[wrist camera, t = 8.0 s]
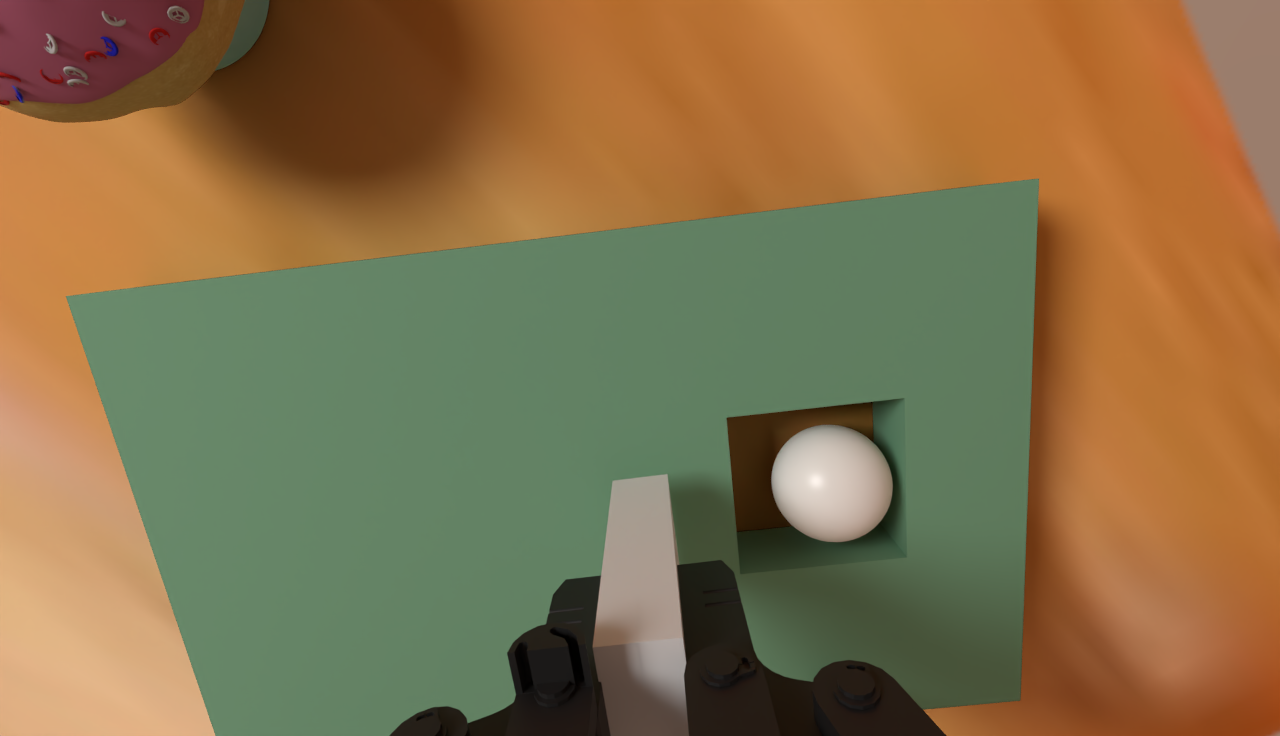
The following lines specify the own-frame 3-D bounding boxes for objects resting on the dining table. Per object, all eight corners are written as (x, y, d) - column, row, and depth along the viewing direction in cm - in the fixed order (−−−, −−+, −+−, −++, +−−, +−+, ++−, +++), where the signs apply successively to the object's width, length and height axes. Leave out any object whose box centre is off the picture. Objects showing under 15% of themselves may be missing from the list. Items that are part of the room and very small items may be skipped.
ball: (852, 463, 15) (914, 421, 18) (744, 434, 18) (811, 401, 20) (854, 581, 16) (913, 528, 18) (751, 538, 19) (814, 496, 21)
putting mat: (141, 286, 19) (-1394, 479, 5) (985, 184, 18) (2270, 37, 4) (273, 714, 22) (-355, 1545, 8) (977, 646, 22) (1609, 1447, 7)
